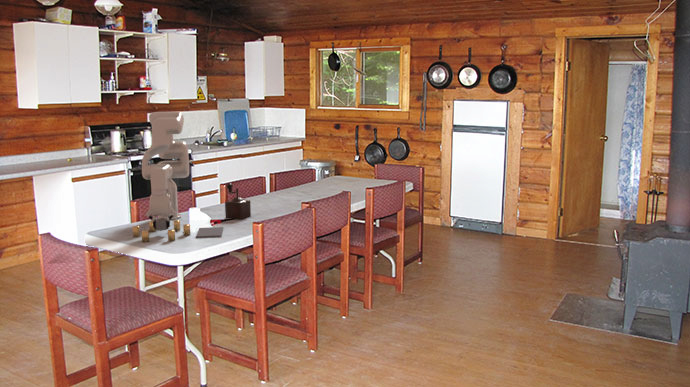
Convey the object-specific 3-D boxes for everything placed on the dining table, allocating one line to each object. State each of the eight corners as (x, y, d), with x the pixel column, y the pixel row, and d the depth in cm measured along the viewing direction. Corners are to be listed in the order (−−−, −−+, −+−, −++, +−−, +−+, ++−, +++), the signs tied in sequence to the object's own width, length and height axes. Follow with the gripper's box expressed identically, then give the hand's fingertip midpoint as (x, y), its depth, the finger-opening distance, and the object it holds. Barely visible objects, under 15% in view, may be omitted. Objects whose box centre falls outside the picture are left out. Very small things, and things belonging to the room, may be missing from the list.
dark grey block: (157, 228, 305) (156, 218, 304) (167, 227, 306) (167, 217, 305) (155, 230, 300) (154, 220, 299) (166, 230, 300) (165, 220, 299)
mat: (199, 229, 316) (199, 227, 316) (223, 228, 317) (223, 227, 317) (196, 237, 298) (196, 236, 298) (221, 237, 300) (221, 235, 300)
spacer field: (137, 230, 313) (137, 221, 312) (192, 229, 316) (192, 219, 315) (128, 242, 289) (127, 232, 288) (187, 240, 293) (187, 230, 292)
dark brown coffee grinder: (252, 216, 347) (251, 184, 344) (240, 220, 337) (239, 187, 334) (230, 213, 354) (229, 182, 351) (217, 217, 344) (216, 185, 341)
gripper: (178, 190, 304) (180, 226, 307) (142, 191, 302) (145, 227, 305) (176, 193, 297) (178, 230, 300) (140, 194, 294) (142, 231, 298)
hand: (161, 228), depth 303 cm, fingers closed on dark grey block, 5 cm apart
